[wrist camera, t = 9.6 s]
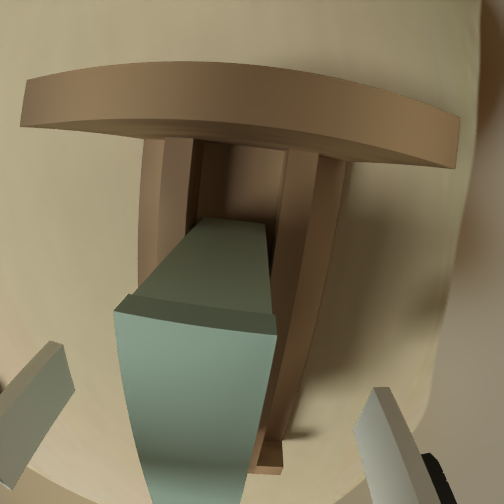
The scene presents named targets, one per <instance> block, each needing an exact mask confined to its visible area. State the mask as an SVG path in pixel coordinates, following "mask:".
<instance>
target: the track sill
mask: <svg viewBox="0 0 504 504" xmlns="http://www.w3.org/2000/svg"><path fill="white" fill-rule="evenodd" d="M20 127H33V128H49V129H62V130H74V131H84V132H94V133H102V134H111V135H118V136H126V137H133V138H140V139H144V147H143V157H142V169H141V183H140V199H139V223H138V288H139V287H140V285H141V284H142V283H143V282H144V281H145V280H146V279H147V278H148V276H149V275H150V274H151V273H152V272H153V271H154V270H155V269H156V268H157V266H158V265H159V264H160V263H161V262H162V261H163V260H164V259H165V258H166V257H167V255H168V254H169V253H170V252H171V251H172V250H173V249H174V248H175V247H176V246H177V245H178V244H179V243H180V241H181V240H182V239H183V238H184V237H185V236H186V235H187V234H188V233H189V232H190V231H191V230H192V229H193V228H194V227H195V226H196V225H197V224H198V223H199V221H200V220H201V219H202V218H203V217H210V218H219V219H228V220H236V221H245V222H253V223H261V224H265V230H266V242H267V254H268V266H269V278H270V290H271V303H272V314H275V316H276V327H277V340H276V345H275V350H274V355H273V360H272V365H271V370H270V375H269V380H268V385H267V390H266V394H265V399H264V404H263V408H262V413H261V417H260V422H259V426H258V431H257V435H256V439H255V444H254V448H253V452H252V457H251V461H250V465H249V469H248V473H252V474H269V475H280V474H281V472H282V469H283V452H282V440H283V437H284V434H285V431H286V428H287V425H288V421H289V418H290V415H291V412H292V409H293V405H294V402H295V399H296V395H297V392H298V388H299V385H300V381H301V378H302V374H303V371H304V367H305V363H306V360H307V356H308V352H309V348H310V344H311V341H312V337H313V333H314V329H315V325H316V320H317V316H318V312H319V308H320V303H321V299H322V295H323V290H324V286H325V281H326V276H327V272H328V267H329V262H330V257H331V252H332V247H333V241H334V236H335V231H336V225H337V220H338V214H339V208H340V202H341V196H342V189H343V183H344V176H345V169H346V162H373V163H391V164H405V165H418V166H429V167H439V168H449V169H455V168H456V160H457V151H458V141H459V128H460V117H458V116H455V115H453V114H450V113H448V112H446V111H443V110H441V109H438V108H435V107H433V106H430V105H427V104H425V103H422V102H419V101H416V100H413V99H410V98H407V97H404V96H401V95H398V94H395V93H392V92H388V91H385V90H382V89H378V88H375V87H371V86H367V85H363V84H360V83H356V82H351V81H347V80H343V79H338V78H334V77H329V76H324V75H319V74H314V73H308V72H303V71H296V70H290V69H283V68H276V67H268V66H259V65H249V64H237V63H222V62H192V61H174V62H145V63H130V64H118V65H109V66H100V67H92V68H85V69H79V70H73V71H67V72H62V73H57V74H52V75H47V76H42V77H38V78H34V79H30V80H27V83H26V88H25V94H24V100H23V106H22V113H21V121H20Z"/></svg>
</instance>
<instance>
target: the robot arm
mask: <svg viewBox="0 0 504 504" xmlns="http://www.w3.org/2000/svg"><path fill="white" fill-rule="evenodd" d="M74 391H75V388H74V384H73V381H72V378H71V374H70V370H69V367H68V363H67V359H66V355H65V351H64V346H63V344H59V343H56V342H53V341H49V342H48V343H47V344H46V345H45V346H44V347H43V348H42V349H41V350H40V351H39V352H38V353H37V354H36V355H35V356H34V358H33V359H32V360H31V361H30V362H29V363H28V364H27V365H26V366H25V367H24V368H23V369H22V370H21V371H20V373H19V374H18V375H17V376H16V377H15V378H14V379H13V380H12V381H11V382H10V384H9V385H8V386H7V387H6V388H5V389H4V390H3V391H2V392H0V484H2V485H3V486H5V487H6V488H8V489H10V490H11V491H12V490H13V488H14V487H15V485H16V483H17V481H18V480H19V478H20V476H21V474H22V473H23V471H24V469H25V468H26V466H27V464H28V463H29V461H30V459H31V458H32V456H33V454H34V453H35V451H36V450H37V448H38V446H39V445H40V443H41V442H42V440H43V438H44V437H45V435H46V434H47V432H48V431H49V429H50V427H51V426H52V424H53V423H54V421H55V420H56V418H57V417H58V415H59V414H60V412H61V411H62V409H63V408H64V406H65V405H66V403H67V402H68V400H69V399H70V397H71V396H72V394H73V393H74ZM353 432H354V435H355V439H356V442H357V446H358V449H359V453H360V456H361V460H362V464H363V467H364V471H365V475H366V478H367V482H368V486H369V490H370V493H371V497H372V501H373V504H457V503H456V500H455V498H454V495H453V493H452V491H451V488H450V486H449V484H448V482H447V481H446V477H445V475H444V473H443V470H442V468H441V466H440V464H439V462H438V461H437V459H436V458H435V457H434V456H433V455H432V454H431V453H426V454H421V455H420V452H419V450H418V448H417V446H416V443H415V441H414V439H413V437H412V434H411V432H410V430H409V428H408V426H407V424H406V421H405V419H404V417H403V415H402V413H401V411H400V409H399V407H398V405H397V402H396V400H395V398H394V396H393V394H392V392H391V390H390V388H389V387H373V389H372V391H371V394H370V396H369V398H368V400H367V402H366V404H365V406H364V408H363V410H362V412H361V415H360V417H359V419H358V420H357V422H356V424H355V426H354V428H353Z"/></svg>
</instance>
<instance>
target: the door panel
mask: <svg viewBox="0 0 504 504" xmlns="http://www.w3.org/2000/svg"><path fill="white" fill-rule="evenodd" d="M113 313H114V323H115V333H116V341H117V349H118V357H119V363H120V370H121V376H122V382H123V388H124V394H125V399H126V404H127V409H128V414H129V419H130V423H131V428H132V432H133V436H134V440H135V444H136V448H137V452H138V456H139V460H140V463H141V467H142V470H143V474H144V477H145V480H146V484H147V487H148V490H149V493H150V496H151V499H152V502H153V504H240V501H241V497H242V493H243V489H244V485H245V481H246V477H247V473H248V469H249V465H250V461H251V457H252V452H253V448H254V444H255V439H256V435H257V431H258V426H259V422H260V417H261V413H262V408H263V404H264V399H265V394H266V390H267V385H268V380H269V375H270V370H271V365H272V360H273V355H274V350H275V345H276V340H277V327H276V316H275V314H272V303H271V290H270V278H269V266H268V254H267V242H266V230H265V224H261V223H253V222H245V221H236V220H228V219H219V218H210V217H203V218H202V219H201V220H200V221H199V223H198V224H197V225H196V226H195V227H194V228H193V229H192V230H191V231H190V232H189V233H188V234H187V235H186V236H185V237H184V238H183V239H182V240H181V241H180V243H179V244H178V245H177V246H176V247H175V248H174V249H173V250H172V251H171V252H170V253H169V254H168V255H167V257H166V258H165V259H164V260H163V261H162V262H161V263H160V264H159V265H158V266H157V268H156V269H155V270H154V271H153V272H152V273H151V274H150V275H149V276H148V278H147V279H146V280H145V281H144V282H143V283H142V284H141V285H140V287H139V288H138V289H137V290H136V291H135V292H134V293H133V294H128V295H127V296H126V297H125V299H124V300H123V301H122V302H121V303H120V304H119V305H118V306H117V307H116V309H115V310H114V311H113Z"/></svg>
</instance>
